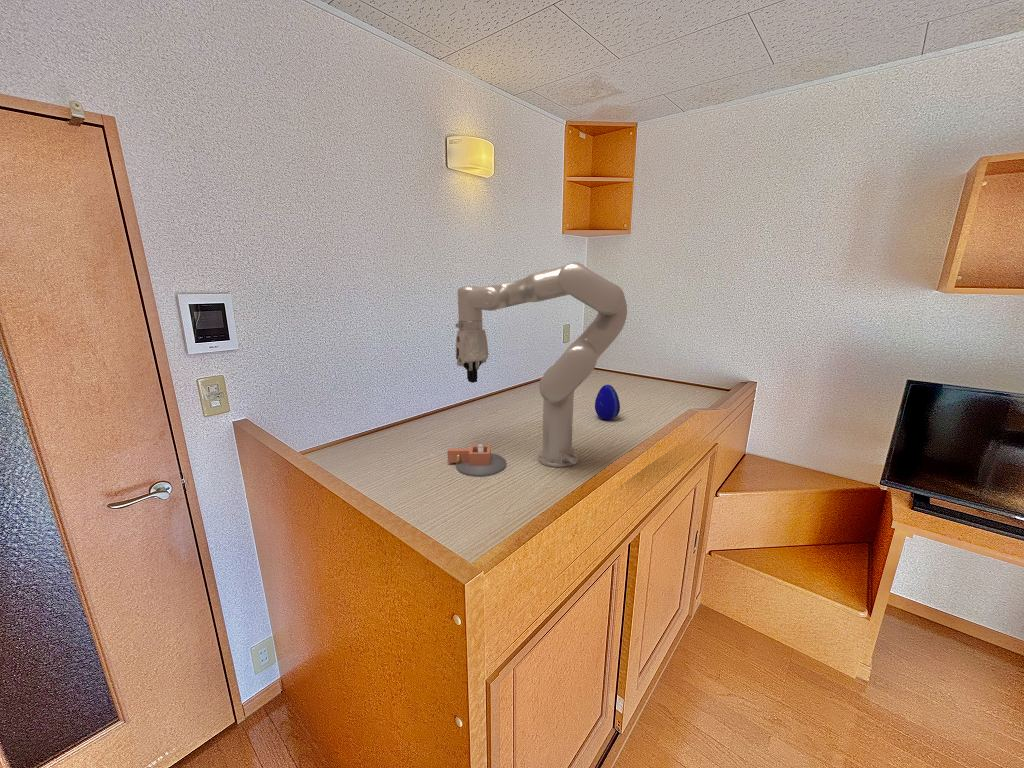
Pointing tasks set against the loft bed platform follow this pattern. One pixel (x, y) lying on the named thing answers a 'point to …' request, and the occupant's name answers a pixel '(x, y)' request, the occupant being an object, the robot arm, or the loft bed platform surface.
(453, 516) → the loft bed platform surface
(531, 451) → the loft bed platform surface
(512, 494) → the loft bed platform surface
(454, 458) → the orange square loop
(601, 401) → the ornament
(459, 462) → the dowel pin
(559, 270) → the robot arm
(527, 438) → the loft bed platform surface
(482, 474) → the post base
